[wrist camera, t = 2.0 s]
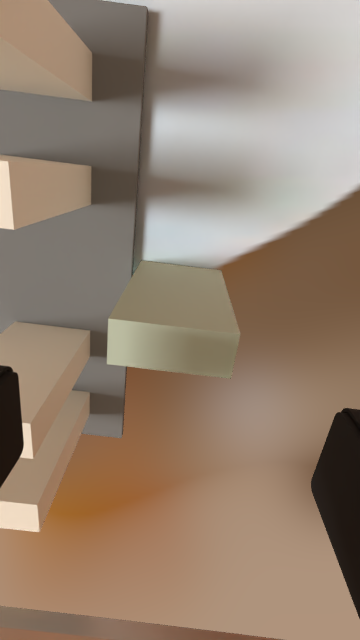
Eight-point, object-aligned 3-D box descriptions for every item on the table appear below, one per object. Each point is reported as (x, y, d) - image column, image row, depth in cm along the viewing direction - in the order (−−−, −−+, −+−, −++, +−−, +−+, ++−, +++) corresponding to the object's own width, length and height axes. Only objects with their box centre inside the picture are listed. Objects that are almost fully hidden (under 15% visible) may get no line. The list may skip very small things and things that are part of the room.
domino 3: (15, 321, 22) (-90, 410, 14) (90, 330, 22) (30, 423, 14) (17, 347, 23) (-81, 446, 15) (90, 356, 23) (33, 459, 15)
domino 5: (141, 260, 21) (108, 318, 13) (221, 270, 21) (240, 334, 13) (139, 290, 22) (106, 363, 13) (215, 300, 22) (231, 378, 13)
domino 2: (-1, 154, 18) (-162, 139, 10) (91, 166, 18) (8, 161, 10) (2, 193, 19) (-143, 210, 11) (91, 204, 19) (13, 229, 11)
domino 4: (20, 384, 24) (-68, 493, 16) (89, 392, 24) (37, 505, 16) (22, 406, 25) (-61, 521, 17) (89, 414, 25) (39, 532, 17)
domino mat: (-65, -18, 16) (-72, -24, 15) (148, 11, 16) (146, 6, 15) (-5, 418, 26) (-8, 423, 26) (122, 433, 26) (121, 438, 26)
